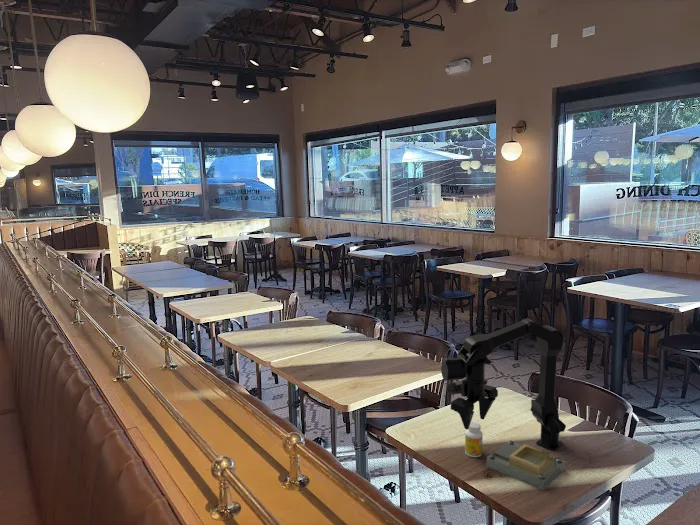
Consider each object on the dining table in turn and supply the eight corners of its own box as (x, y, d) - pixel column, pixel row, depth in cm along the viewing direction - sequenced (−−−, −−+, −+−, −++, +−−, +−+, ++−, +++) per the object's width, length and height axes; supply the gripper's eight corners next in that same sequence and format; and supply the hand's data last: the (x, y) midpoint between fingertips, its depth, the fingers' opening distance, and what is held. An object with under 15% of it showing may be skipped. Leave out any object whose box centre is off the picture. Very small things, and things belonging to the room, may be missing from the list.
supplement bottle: (462, 454, 165) (462, 425, 163) (469, 447, 169) (469, 419, 167) (477, 459, 161) (478, 430, 160) (484, 452, 166) (485, 424, 164)
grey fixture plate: (509, 449, 167) (509, 434, 166) (564, 470, 154) (565, 454, 154) (486, 466, 157) (486, 451, 157) (543, 490, 145) (544, 474, 144)
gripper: (469, 363, 173) (468, 407, 176) (436, 379, 160) (436, 426, 163) (499, 371, 165) (498, 417, 168) (467, 388, 152) (466, 437, 155)
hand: (474, 423), depth 164 cm, fingers open, 9 cm apart
